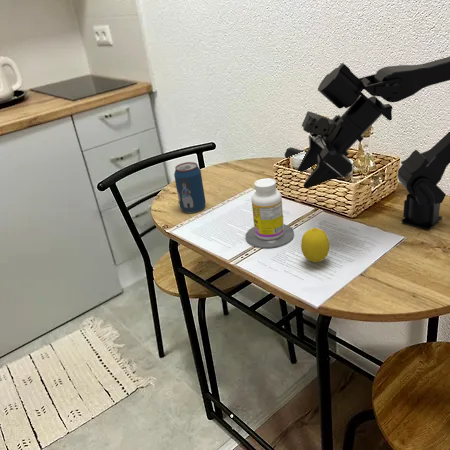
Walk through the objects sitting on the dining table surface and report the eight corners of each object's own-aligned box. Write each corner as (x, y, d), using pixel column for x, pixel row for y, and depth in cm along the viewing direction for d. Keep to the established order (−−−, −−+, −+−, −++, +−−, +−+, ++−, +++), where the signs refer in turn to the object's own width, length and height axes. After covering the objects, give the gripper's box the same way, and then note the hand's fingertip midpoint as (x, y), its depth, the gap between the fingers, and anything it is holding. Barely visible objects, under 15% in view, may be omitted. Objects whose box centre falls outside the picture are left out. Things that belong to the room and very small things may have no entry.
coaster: (303, 232, 107) (303, 230, 107) (272, 253, 101) (272, 251, 100) (267, 220, 114) (267, 218, 114) (235, 239, 108) (235, 237, 108)
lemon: (323, 272, 92) (322, 237, 89) (297, 266, 95) (295, 232, 92) (333, 258, 96) (333, 223, 93) (308, 253, 99) (307, 219, 96)
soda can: (202, 200, 130) (195, 159, 124) (209, 210, 124) (202, 167, 118) (177, 206, 128) (170, 165, 122) (184, 216, 122) (176, 173, 117)
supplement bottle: (256, 227, 111) (251, 177, 105) (284, 226, 110) (281, 175, 104) (253, 242, 105) (248, 189, 99) (283, 241, 104) (280, 187, 98)
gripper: (318, 87, 101) (270, 142, 107) (334, 109, 85) (277, 172, 90) (354, 119, 104) (306, 171, 110) (377, 146, 88) (319, 205, 94)
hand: (301, 178), depth 101 cm, fingers open, 9 cm apart
